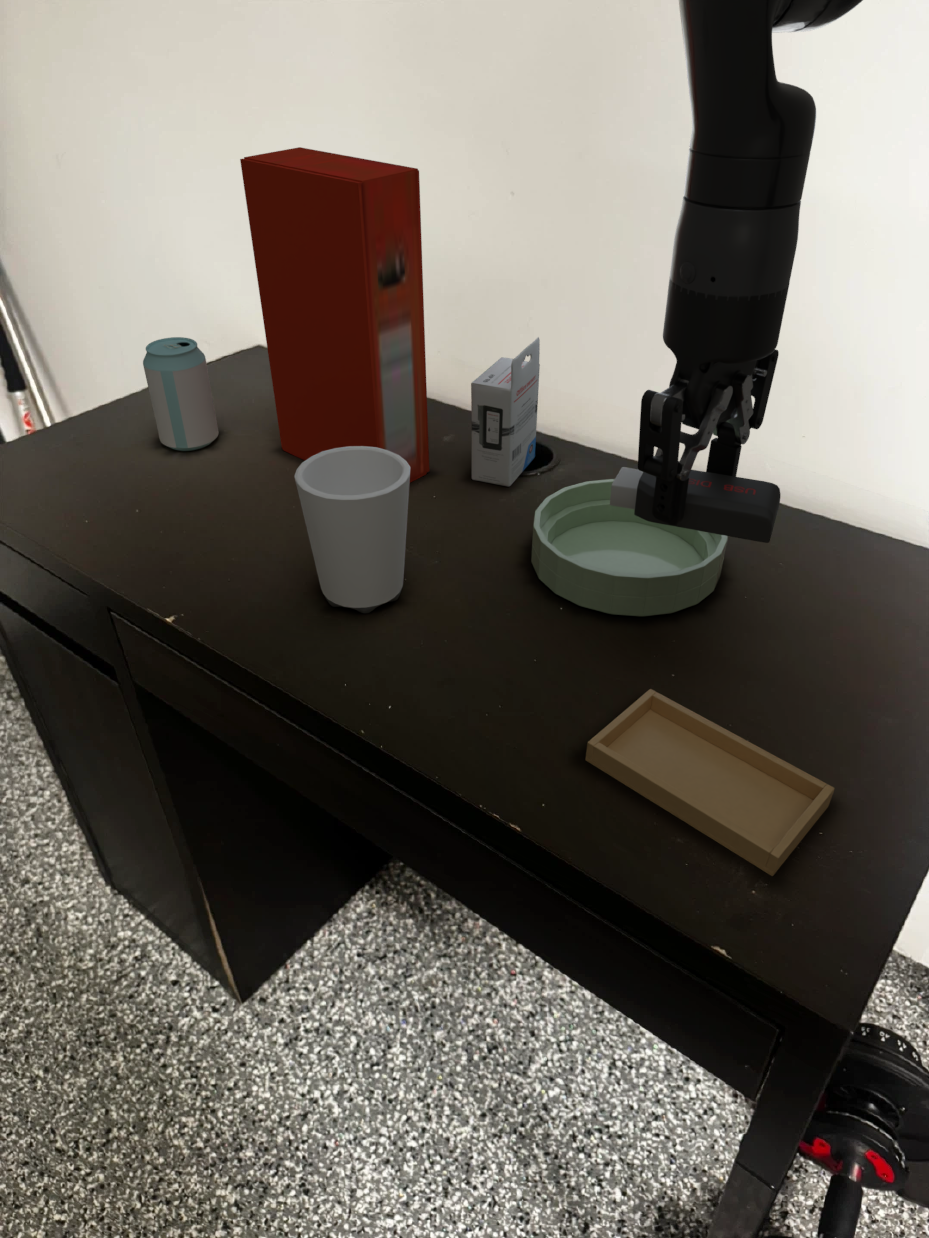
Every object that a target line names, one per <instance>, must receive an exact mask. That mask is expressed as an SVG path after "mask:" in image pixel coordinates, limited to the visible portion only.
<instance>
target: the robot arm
mask: <svg viewBox="0 0 929 1238" xmlns="http://www.w3.org/2000/svg"><path fill="white" fill-rule="evenodd" d="M863 1H864V0H678V5H679V6H678V9H679V18H680V26H681V27H680V28H681V35H682V40H683V41H682V42H683V51H684V61H685V70H686V80H687V89H688V96H689V104H690V113H691V133H690V139H689V145H688V147H689V148H688V153H687V162H686V171H685V178H684V187H683V196H682V203H681V207H680V211H679V216H678V218H677V222H676V223H677V224H676V227H675V231H674V237H673V245H672V253H671V261H670V271H669V279H668V286H667V287H668V289H667V296H666V305H665V313H664V321H663V330H662V340H663V343H664V344H665V346H666V347H667V348H668V349H669V351H671V352H672V354H673V355H674V358H675V359H676V363H675V366H674V370H673V372H672V375H671V377H670V381H669V384H668V385H669V386H668V387H667V388H666V389H664V390H663V391H661V392H659V391H655V390H652V389H647V390H646V391H644V393H643V395H642V397H641V401H640V414H639V415H640V417H639V419H640V420H639V434H638V435H639V436H638V438H639V439H638V451H637V469H638V470H639V471H642V472H645V473H647V474H650V475H653V476H655V477H656V484H655V492H654V500H653V501H654V502H653V508H652V513H653V516H654V517H655V518H656V519H658V520H661V521H663V522H666V523H668V524H671V525H676V524H677V523H679V522H681V521H682V520H683V516H684V510H685V503H686V496H687V490H688V483H689V477H688V476H689V474H690V471H691V470H693V466H694V463H695V461H696V458H697V456H698V453H700V452H701V451H704V450H706V449H707V448H708V447H709V449H708V450H709V451H708V457H707V463H706V469H705V472H710V473H716V474H722V475H728V476H735V477H737V474H738V468H739V463H740V456H741V452H742V447H743V446H742V445H745V444H747V441H748V440H749V438H750V435H751V430H753V429H754V430H759V429H760V428H761V426H762V424H763V422H764V419H765V414H766V410H767V405H768V402H769V398H770V394H771V388H772V384H773V380H774V375H775V372H776V368H777V363H778V359H779V355H780V353H779V350H778V349H777V347H778V344H779V339H780V333H781V328H782V325H783V324H782V323H783V319H784V313H785V308H786V304H787V303H786V302H787V298H788V294H789V288H790V283H791V277H792V272H793V267H794V262H795V256H796V252H797V246H798V241H799V231H800V229H799V228H800V212H801V205H802V197H803V192H804V188H805V183H806V177H807V172H808V167H809V163H810V162H809V161H810V157H811V151H812V146H813V141H814V136H815V130H816V124H817V106H816V102H815V99H814V97H813V96H812V95H811V94H810V93H809V92H808V91H807V90H806V89H804V88H801V87H799V86H796V85H794V84H790V83H786V82H783V81H779V80H778V78H777V74H776V66H775V59H774V49H773V34H782V33H804V32H811V31H815V30H818V29H821V28H824V27H826V26H829V25H830V24H832V23H834V22H836V21H838V20H839V19H841V18H842V17H844V16H846V15H847V14H848V13H850V12H851V11H852V10H853V9H855V8H856V7H857V6H858V5H860V4H861V3H862V2H863ZM752 397H753V398H754V403H753V400H752V399H753V398H752ZM682 425H684V426H687V427H690V428H693V429H696V430H697V432H695V433H687V432H684V431H682ZM713 436H715V437H714V438H712V437H713ZM680 444H682V445H683V446H684V450H683V452H682V454H681V457H680V456H679V455H680ZM655 448H657V449H656V452H655ZM679 457H680V460H679Z"/></svg>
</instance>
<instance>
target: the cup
mask: <svg viewBox="0 0 929 1238" xmlns="http://www.w3.org/2000/svg"><path fill="white" fill-rule="evenodd" d="M410 468H411V467H410V466H409V464H408V463H407V461H406V460H405V459H403V458H402V457H401V456H399V455H397V454H395V453H393V452H391V451H388V450H385V449H381V448H377V447H368V446H348V447H341V448H334V449H330V450H326V451H322V452H320V453H318V454H316V455H313V456H311V457H310V458H308V459H307V460H303V461H302V462H301V463H300V464H299V466H298V467H297V468H296V470H295V473H294V476H293V477H294V481H295V485H296V489H297V494H298V498H299V503H300V506H301V511H302V515H303V519H304V524H305V528H306V532H307V537H308V541H309V544H310V545H309V546H310V549H311V553H312V556H313V561H314V565H315V570H316V574H317V579H318V582H319V586H320V590H321V592H322V594H323V595H324V597H325V600H326V602H328V604H329V605H330V606H331V607H334V608H339V607H343V608H349V609H351V610H355V611H357V612H359V613H361V614H369V613H371V612H372V611H374V610H375V609H376V608H378V607H380V606H381V605H384V604H386V603H388V602H389V603H390V602H395V601H398V599H399V597H400V595H401V593H402V589H403V587H404V575H405V562H406V561H405V560H406V546H407V545H406V544H407V529H408V516H409V515H408V513H409V500H410V499H409V497H410V483H411V482H410Z"/></svg>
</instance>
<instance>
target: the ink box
mask: <svg viewBox="0 0 929 1238" xmlns="http://www.w3.org/2000/svg"><path fill="white" fill-rule="evenodd" d="M540 342H541V341H540V337H539V336H537V337H536V338H535V339H534V340H533V341H532V342H531V343H529V344H528V345H527V346H526V347H525V348H524V349H523V350H522V351H521V352H520V353H519V354H517V355H516V356H515V357H514V358H510V357H499V359H498V360H496V361H495V362H494V363H493V364H492V365H490V366H489V367H488V368H487V369H485V371H484V372H482V373H481V374H480V375H479V376H478V377H476V378H475V379H474V380H473V381H471V383H470V395H471V396H470V398H471V399H470V401H471V402H470V404H471V405H470V407H471V409H470V410H471V412H470V413H471V417H470V418H471V428H470V429H471V431H470V432H471V433H470V434H471V443H470V445H471V447H470V448H471V451H470V452H471V479H472V480H473V481H478V482H482V483H488V484H493V485H498V486H503V487H507V488H508V487H511V486H512V485H513V484H514V482H515V481H516V480H517V479H518V478H519V477H520V475H521V474H522V473H523V472H524V471H525V470H526V469H527V467H529V465H530V464H531V463H532V461H533V460H534V459H535V457H536V446H537V445H536V444H537V443H536V442H537V428H538V427H537V425H538V423H537V422H538V407H539V406H538V405H539V404H538V403H539V387H540V368H541V367H540V366H541V365H540V354H541V353H540V350H541V349H540V348H541V347H540V345H541V344H540ZM526 357H527V358H528V357H529V360H528V361H526Z"/></svg>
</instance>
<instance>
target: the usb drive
mask: <svg viewBox="0 0 929 1238" xmlns="http://www.w3.org/2000/svg"><path fill="white" fill-rule="evenodd" d="M688 477H689V483H688V490H687V496H686V503H685V510H684V516H683V520H682V521H681V522H679V523H677V524H676V525H671V524H668V523H666V522H663V521H661V520H658V519H656V518H655V517H654V516H653V513H652V508H653V502H654V501H653V500H654V492H655V484H656V477H655V476H653V475H650V474H647V473H645V472H642V471H639V470H638V468H634V467H633V468H632V467H626V466H622V467H621V468H620V469H619V471H618V473H617V475H616V476H615V478H614V479H615V480H614V481H613V483H612V486H611V496H610V505H612V506H618V507H623V508H629V509H634V510H635V512H634V515H636V516H638V517H640V518H642V519H644V520H646V521H649V522H654V523H659V524H665V525H670V526H676V527H681V528H687V529H692V530H697V531H703V532H708V533H714V534H719V535H725V536H728V537H730V538H731V537H732V538H736V539H742V540H747V541H753V542H759V543H765V544H768V543H770V542H771V538H772V534H773V531H774V527H775V524H776V519H777V517H778V516H777V515H778V512H779V508H780V503H781V488H780V487H779V486H778V484H775V483H773V482H769V481H764V480H759V479H752V478H746V477H740V476H736V477H735V476H728V475H722V474H716V473H710V472H706V471H705V470H704V471H703V470H696V469H691V471H690V474H689V476H688Z"/></svg>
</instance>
